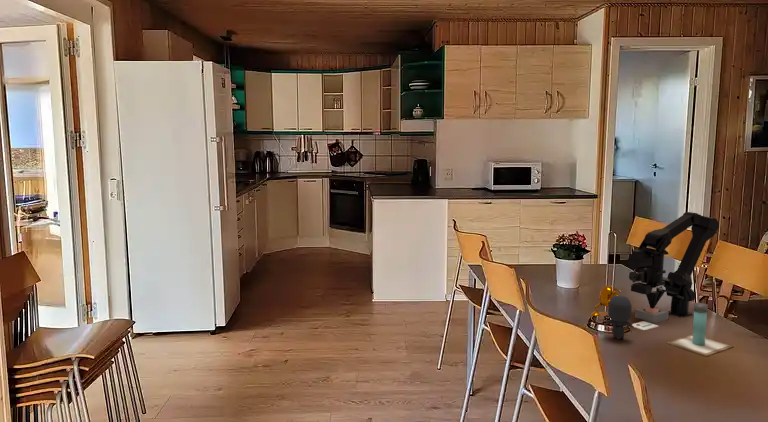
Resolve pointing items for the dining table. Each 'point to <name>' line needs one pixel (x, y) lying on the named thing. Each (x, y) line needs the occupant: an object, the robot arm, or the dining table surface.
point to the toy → (619, 315)
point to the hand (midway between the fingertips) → (652, 308)
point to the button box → (651, 315)
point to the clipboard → (705, 350)
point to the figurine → (605, 299)
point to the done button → (652, 309)
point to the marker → (699, 323)
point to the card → (644, 325)
